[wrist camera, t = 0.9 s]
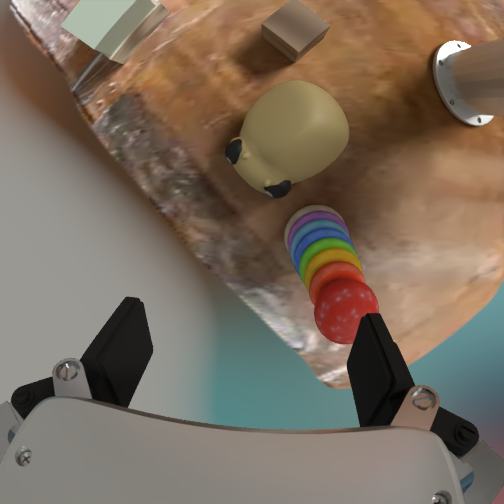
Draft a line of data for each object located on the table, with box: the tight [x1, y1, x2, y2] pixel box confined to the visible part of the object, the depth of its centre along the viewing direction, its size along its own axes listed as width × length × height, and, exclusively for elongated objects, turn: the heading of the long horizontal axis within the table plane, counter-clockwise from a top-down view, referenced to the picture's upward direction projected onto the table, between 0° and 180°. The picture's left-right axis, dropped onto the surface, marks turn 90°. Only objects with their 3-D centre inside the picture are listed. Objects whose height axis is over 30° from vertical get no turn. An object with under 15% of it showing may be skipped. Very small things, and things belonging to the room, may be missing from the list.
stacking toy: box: [284, 205, 379, 344], centre depth 27 cm, size 8×8×19 cm
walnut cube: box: [262, 0, 330, 63], centre depth 24 cm, size 5×5×5 cm
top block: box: [61, 0, 156, 56], centre depth 20 cm, size 8×8×4 cm
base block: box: [99, 0, 170, 65], centre depth 24 cm, size 9×9×4 cm
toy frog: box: [225, 80, 349, 198], centre depth 26 cm, size 10×12×11 cm
